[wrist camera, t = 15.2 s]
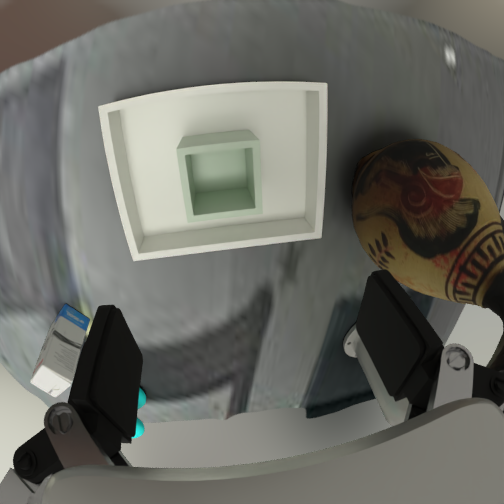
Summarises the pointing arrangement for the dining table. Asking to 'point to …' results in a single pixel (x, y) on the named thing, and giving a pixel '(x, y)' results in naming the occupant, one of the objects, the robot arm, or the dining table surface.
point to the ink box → (60, 352)
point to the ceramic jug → (432, 225)
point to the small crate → (220, 175)
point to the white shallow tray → (212, 121)
